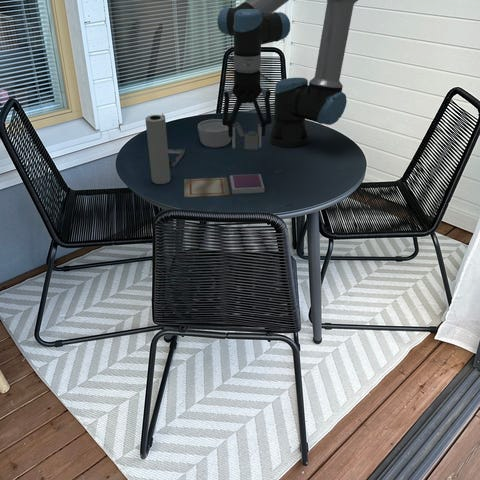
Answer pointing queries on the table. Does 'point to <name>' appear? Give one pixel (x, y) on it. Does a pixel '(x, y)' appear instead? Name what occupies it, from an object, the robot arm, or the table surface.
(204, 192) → the marked board
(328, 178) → the table surface
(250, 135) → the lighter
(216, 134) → the ramekin
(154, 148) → the paper towel roll
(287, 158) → the table surface
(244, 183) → the ink pad
